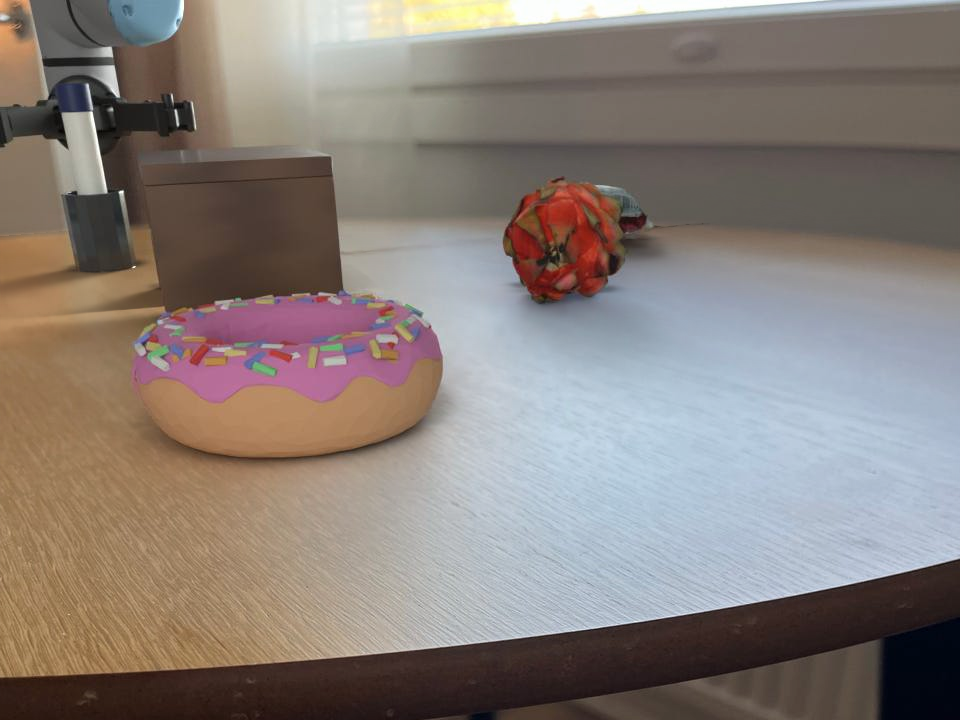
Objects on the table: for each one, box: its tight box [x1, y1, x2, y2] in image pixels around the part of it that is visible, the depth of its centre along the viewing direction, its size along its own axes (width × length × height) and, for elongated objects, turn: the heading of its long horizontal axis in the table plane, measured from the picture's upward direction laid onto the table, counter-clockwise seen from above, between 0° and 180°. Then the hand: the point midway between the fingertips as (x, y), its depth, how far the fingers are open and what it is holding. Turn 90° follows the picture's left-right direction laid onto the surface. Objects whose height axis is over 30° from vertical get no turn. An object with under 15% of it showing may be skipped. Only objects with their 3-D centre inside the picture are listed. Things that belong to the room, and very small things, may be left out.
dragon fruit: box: [502, 175, 629, 304], centre depth 73 cm, size 8×8×12 cm
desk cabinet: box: [136, 144, 344, 313], centre depth 73 cm, size 12×14×10 cm
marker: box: [55, 83, 108, 195], centre depth 86 cm, size 3×3×14 cm
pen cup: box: [60, 188, 138, 273], centre depth 88 cm, size 5×5×6 cm
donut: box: [131, 290, 444, 459], centre depth 48 cm, size 14×14×5 cm
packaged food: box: [594, 184, 654, 241], centre depth 97 cm, size 9×12×5 cm
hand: (82, 122), depth 89 cm, fingers open, 13 cm apart
